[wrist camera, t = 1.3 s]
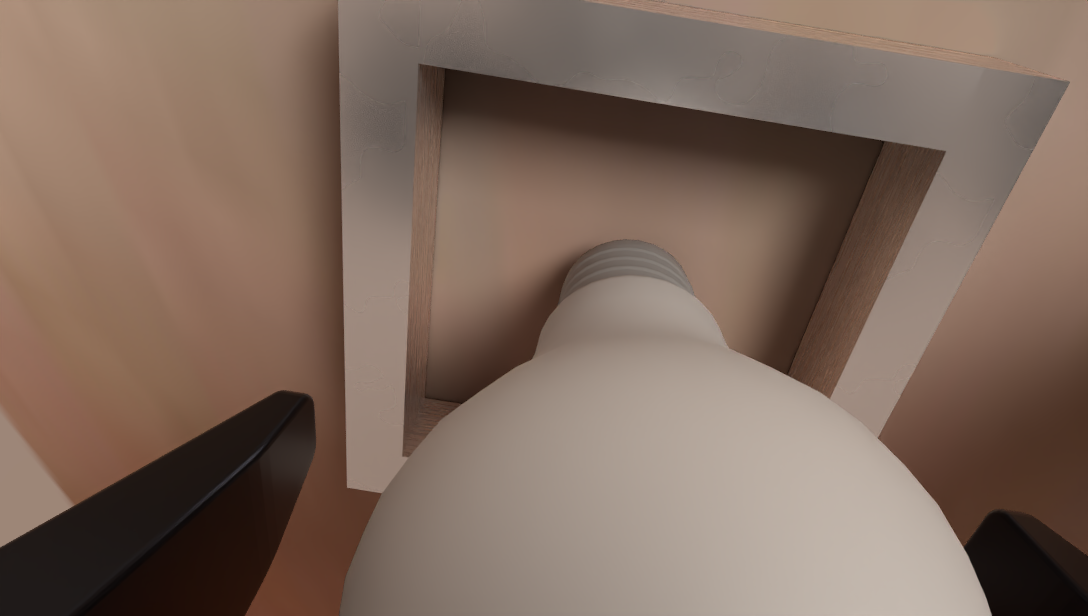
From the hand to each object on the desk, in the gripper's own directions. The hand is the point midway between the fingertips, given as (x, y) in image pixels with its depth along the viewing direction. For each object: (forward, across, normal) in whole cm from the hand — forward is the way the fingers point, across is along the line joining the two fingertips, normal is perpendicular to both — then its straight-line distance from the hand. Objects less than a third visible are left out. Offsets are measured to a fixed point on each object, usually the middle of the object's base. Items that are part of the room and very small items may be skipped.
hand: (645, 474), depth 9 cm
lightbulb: (+6, 0, 0) cm, 6 cm away
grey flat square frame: (+6, 0, 0) cm, 6 cm away
